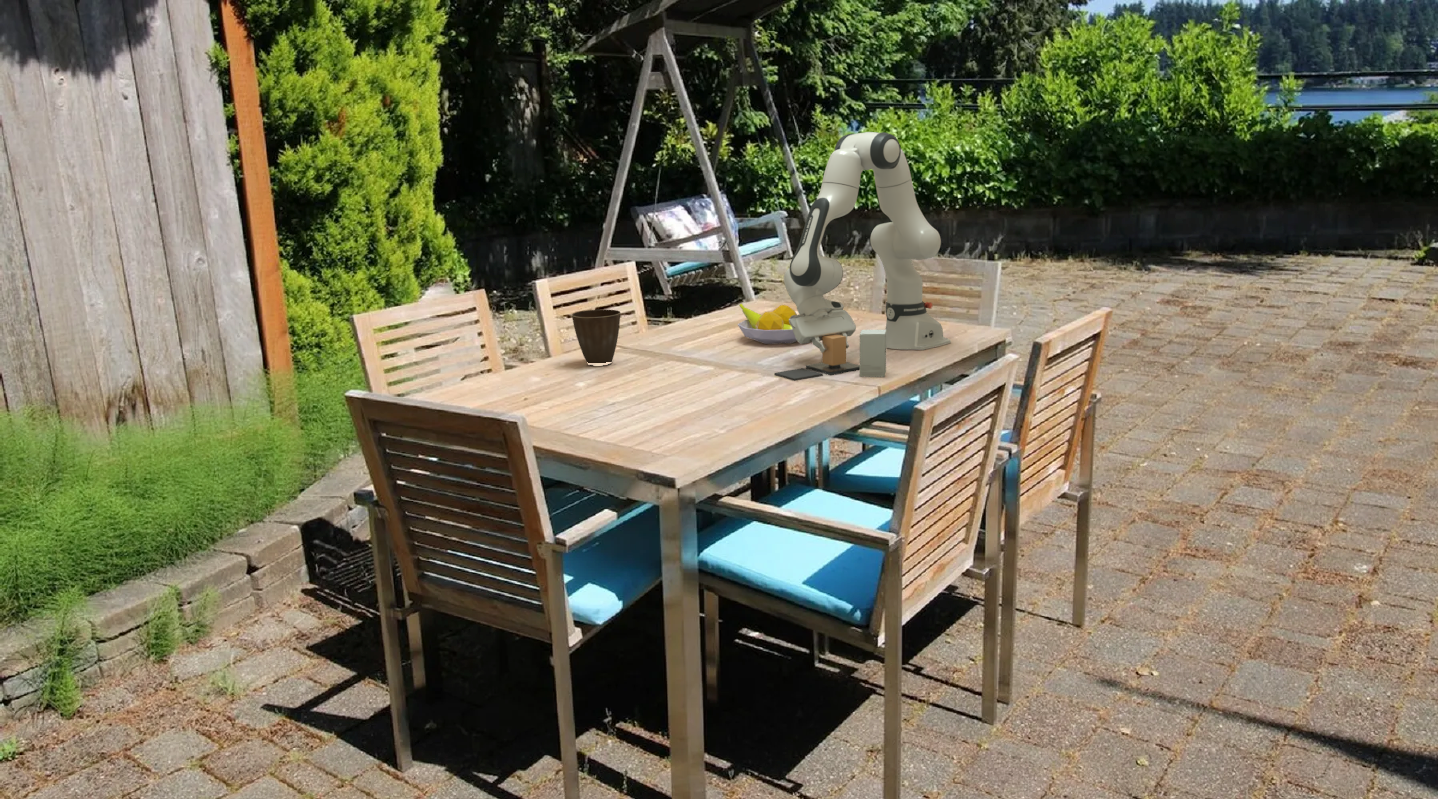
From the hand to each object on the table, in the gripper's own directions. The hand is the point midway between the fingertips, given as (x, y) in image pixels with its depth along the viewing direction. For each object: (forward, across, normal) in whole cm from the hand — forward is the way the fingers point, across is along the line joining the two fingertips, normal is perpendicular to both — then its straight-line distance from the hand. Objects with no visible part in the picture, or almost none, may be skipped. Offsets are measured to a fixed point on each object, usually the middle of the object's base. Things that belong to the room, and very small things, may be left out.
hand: (835, 349), depth 354 cm
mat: (+4, -13, +5) cm, 14 cm away
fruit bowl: (-31, +13, +40) cm, 52 cm away
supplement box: (+13, +4, -4) cm, 14 cm away
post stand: (+4, 0, +5) cm, 6 cm away
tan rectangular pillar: (+2, 0, +3) cm, 4 cm away
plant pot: (-34, -51, +42) cm, 74 cm away
